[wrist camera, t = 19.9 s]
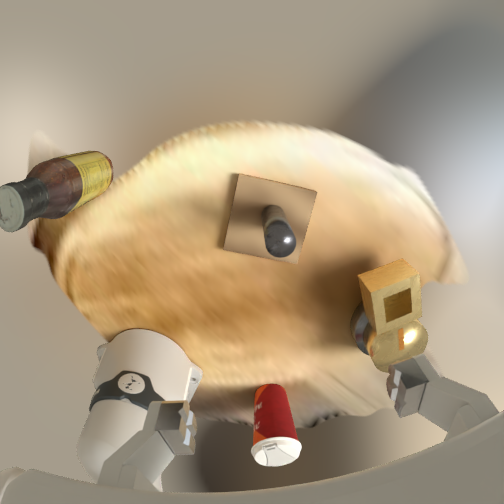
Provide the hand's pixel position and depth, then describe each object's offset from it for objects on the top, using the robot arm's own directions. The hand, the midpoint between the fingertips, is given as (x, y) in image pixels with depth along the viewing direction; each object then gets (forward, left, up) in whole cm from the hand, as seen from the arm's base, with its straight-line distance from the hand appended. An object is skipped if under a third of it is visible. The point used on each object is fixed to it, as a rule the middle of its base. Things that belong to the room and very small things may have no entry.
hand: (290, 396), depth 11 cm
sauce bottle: (+1, +22, -31) cm, 38 cm away
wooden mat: (-1, -2, -31) cm, 31 cm away
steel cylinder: (0, -2, -30) cm, 30 cm away
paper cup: (-32, -10, -31) cm, 46 cm away
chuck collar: (-10, -22, -28) cm, 37 cm away
